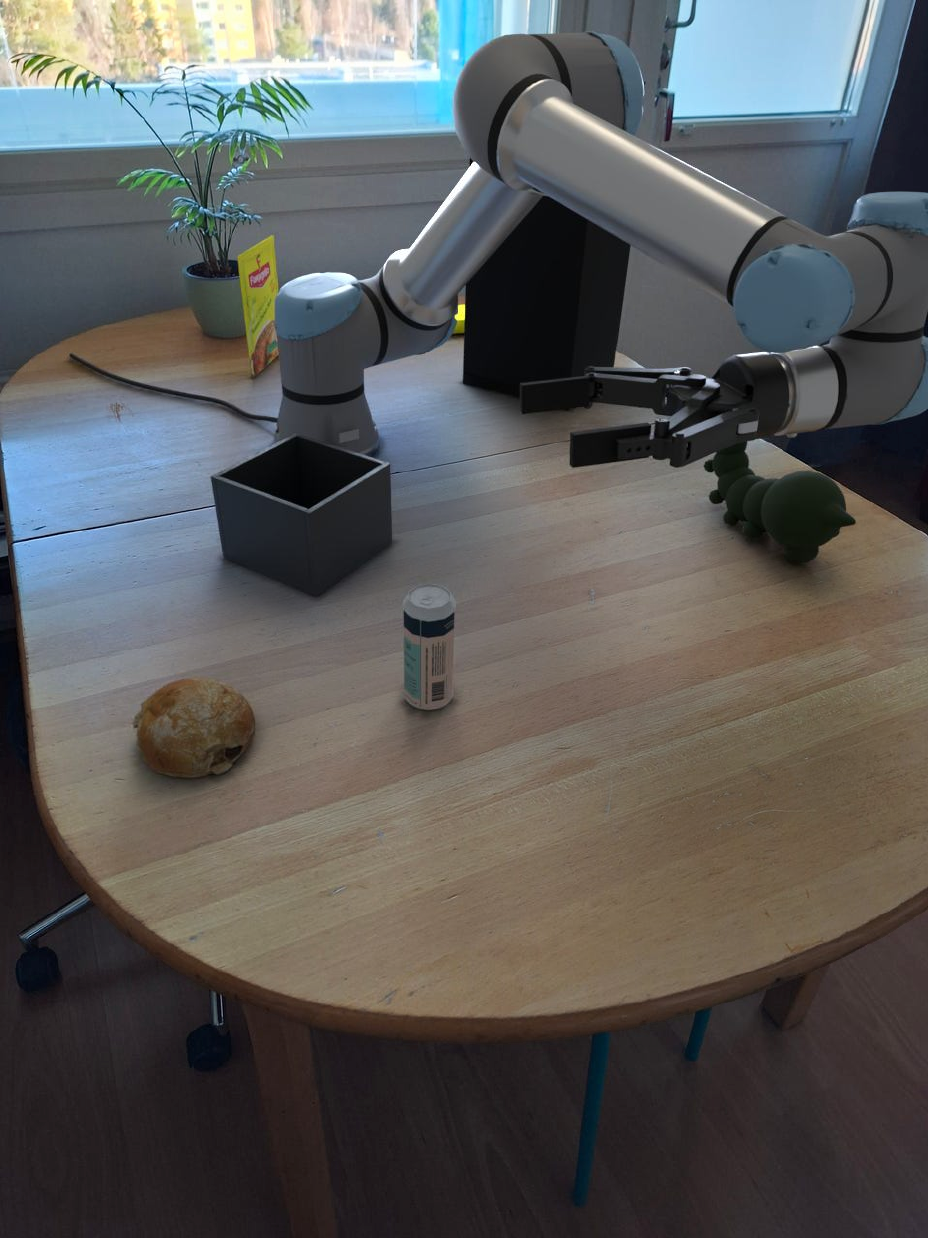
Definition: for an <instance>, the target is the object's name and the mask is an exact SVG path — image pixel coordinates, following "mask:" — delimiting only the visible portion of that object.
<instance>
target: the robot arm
mask: <svg viewBox="0 0 928 1238" xmlns="http://www.w3.org/2000/svg"><path fill="white" fill-rule="evenodd" d="M643 82H644V80H643V75H642V71H641V68H640V65H639V62H638V60H637V58H636V57H635V55H634V53H633V51H632V50H631V49H630V48H629V46H628V45H627V44H626V43H625V42H624V41H623V40H621V39H620V38H618V37H616V36H614V35H610V34H604V33H598V32H596V31H594V30H585V31H582V32H559V33H558V32H555V33H529V34H528V33H512V34H511V33H510V34H504V35H501V36H498V37H496V38H493V39H491V40H489V41H488V42H486V43H484V44H482V45H481V46H480V47H479V48H478V49H476V51H474V52H473V53H472V55H470V57H469V58H468V59H467V61H466V62H465V64H464V66H463V67H462V68H461V70H460V72H459V74H458V77H457V80H456V84H455V87H454V91H453V97H452V107H451V108H452V119H453V125H454V129H455V133H456V136H457V139H458V140H459V142H460V145H461V147H462V148H463V150H464V151H465V153H466V154H467V156H468V157H469V159H470V158H471V159H472V160H473V161H474V162H473V164H472V165H471V166H470V168H469V167H468V169H467V170H466V171H465V173H464V174H463V176H462V177H461V178H460V180H459V181H458V183H457V184H456V185H455V187H454V188H453V189H452V191H451V192H450V194H449V195H448V196H447V197H446V198H445V200H444V202H443V203H442V204H441V206H440V207H439V208H438V210H437V211H436V213H435V214H433V217H432V218H431V219H430V220H429V222H428V223H427V225H426V226H425V227H424V229H423V230H422V231H421V233H420V234H419V235H418V237H417V238H416V239H415V241H414V243H412V245H411V246H410V248H405V249H400V250H397V251H395V252H394V253H392V254H391V255H390V256H389V257H388V258H387V260H386V262H384V264H383V265H382V267H381V268H380V269H379V271H378V272H377V274H375V275H374V276H372V277H370V278H364V279H359V280H358V279H357V277H355V276H354V275H352V274H349V273H346V272H339V271H327V272H323V273H320V272H315V273H309V274H306V275H302V276H298V277H296V278H294V279H291V280H290V281H288V282H287V283H285V284H284V285H282V286H281V288H280V289H279V291H278V293H277V296H276V298H275V320H274V327H275V331H276V334H277V344H278V354H279V355H278V362H279V374H280V382H281V393H282V398H281V402H280V407H279V410H278V415H277V417H274V416H268V415H258V414H253V413H249V412H247V411H245V410H243V409H241V408H239V407H238V406H237V405H234V404H233V403H230V402H228V401H226V400H223V399H220V398H216V397H211V396H207V395H201V394H195V393H190V392H185V391H181V390H174V389H171V388H165V387H161V386H157V385H151V384H148V383H143V382H139V381H136V380H132V379H129V378H127V377H123V376H121V375H117V374H114V373H112V372H109V371H107V370H105V369H102V368H100V367H98V366H97V365H94V364H92V363H90V362H88V361H87V360H85V359H83V358H82V357H80V356H78V355H76V354H74V353H73V352H70V353H69V357H70V358H71V359H73V360H74V361H76V362H78V363H79V364H81V365H83V366H85V367H86V368H89V369H90V370H92V371H94V372H96V373H99V374H100V375H103V376H105V377H107V378H110V379H112V380H115V381H118V382H121V383H124V384H127V385H130V386H134V387H138V388H142V389H145V390H150V391H153V392H158V393H163V394H167V395H172V396H178V397H182V398H186V399H192V400H197V401H204V402H208V403H213V404H216V405H217V404H218V405H221V406H224V407H226V408H228V409H230V410H232V411H233V412H235V413H237V414H238V415H240V416H242V417H244V418H247V419H250V420H256V421H261V422H270V423H276V425H275V428H274V432H273V442H274V443H273V444H275V443H277V442H279V441H281V440H283V439H285V438H287V437H289V436H291V435H293V434H295V433H298V434H301V435H304V436H307V437H310V438H314V439H317V440H320V441H323V442H326V443H329V444H332V445H335V446H338V447H341V448H344V449H347V450H350V451H353V452H356V453H360V454H363V455H366V456H369V457H371V456H372V455H373V454H375V453H376V452H377V450H378V448H379V444H380V443H379V441H380V440H379V439H380V438H379V437H380V436H379V431H378V427H377V425H376V422H375V420H374V419H373V415H372V412H371V409H370V405H369V403H368V400H367V397H366V394H365V370H366V369H368V368H373V367H375V366H379V365H382V364H387V363H389V362H390V363H391V362H393V361H397V360H400V359H404V358H408V357H411V356H418V355H419V356H420V355H424V354H426V353H430V352H432V351H433V350H435V349H437V348H440V347H441V346H443V345H444V344H446V342H447V341H448V340H449V339H450V338H451V337H452V335H454V334H453V332H454V329H455V327H456V324H457V320H456V318H455V315H457V314H458V305H459V293H460V292H461V291H462V290H463V289H464V287H466V284H467V283H468V282H469V280H470V279H471V278H472V277H473V276H474V275H475V274H476V272H477V271H478V270H479V269H480V268H481V267H482V265H483V264H484V263H485V262H486V261H487V260H488V259H489V257H490V256H491V255H492V254H493V253H494V252H495V251H496V249H497V248H498V247H499V246H500V245H501V244H502V243H503V241H504V240H505V239H506V238H507V237H508V236H509V234H510V233H511V232H512V231H513V230H514V229H515V228H516V226H517V225H518V224H519V223H520V222H521V221H522V220H523V218H524V217H525V216H526V215H527V214H528V213H529V212H530V210H531V209H532V208H533V207H534V206H535V205H536V203H537V202H538V201H539V200H540V199H541V198H542V197H543V195H544V196H549V197H551V198H553V199H554V200H556V201H558V202H559V203H561V204H563V205H564V206H566V207H568V208H569V209H571V210H573V211H574V212H576V213H578V214H579V215H581V216H583V217H584V218H586V219H588V220H589V221H591V222H593V223H594V224H596V225H598V226H599V227H601V228H603V229H604V230H606V231H608V232H609V233H611V234H613V235H614V236H616V237H618V238H619V239H621V240H623V241H624V242H626V243H628V244H629V245H631V247H633V248H634V249H636V250H638V251H639V252H641V253H643V254H645V255H646V256H648V257H649V258H651V259H652V260H654V261H656V262H657V263H659V264H661V265H663V266H665V267H666V268H668V269H669V270H671V271H673V272H674V273H676V274H678V275H680V276H681V277H682V278H684V279H686V280H688V281H689V282H691V283H693V284H695V285H696V286H698V287H699V288H701V289H702V290H705V291H706V292H708V293H709V294H711V295H713V296H715V297H716V298H718V299H719V300H721V301H722V302H724V303H726V304H728V305H729V306H730V307H733V314H734V315H733V316H734V319H735V322H736V325H738V326H739V328H740V330H741V333H742V334H743V336H744V338H745V340H747V341H748V343H750V344H752V345H753V346H754V347H756V348H757V349H759V350H761V351H762V352H752V353H743V354H734V355H730V356H729V357H727V358H726V359H724V360H723V362H721V364H720V365H719V366H718V368H717V370H716V372H715V373H714V374H713V375H712V377H710V378H708V377H707V376H706V375H703V374H695V373H694V374H691V373H692V368H690V367H687V366H680V367H667V368H660V367H659V368H657V367H656V368H655V367H654V368H652V367H617V366H616V367H615V366H614V367H593V366H590V367H587V368H585V376H579V377H570V378H562V379H553V380H544V381H535V382H527V383H520V398H519V413H520V414H521V415H530V414H531V415H532V414H538V413H539V414H540V413H547V412H555V411H563V410H564V409H569V410H571V409H579V408H583V409H585V410H589V409H591V408H592V407H593V403H594V404H602V405H603V404H604V405H613V406H620V407H621V406H622V407H629V408H630V407H632V408H640V409H648V410H651V411H653V413H654V414H655V415H657V416H663V417H667V419H664V418H657V417H655V418H654V428H653V429H654V430H653V432H652V424H651V423H649V422H648V421H647V422H639V423H631V424H623V425H617V426H610V427H609V426H608V427H599V428H593V429H584V430H575V431H569V460H568V461H569V463H568V464H569V466H570V467H571V469H574V468H575V469H576V468H583V467H591V466H597V465H598V466H599V465H606V464H613V463H618V462H619V463H621V462H628V461H634V460H641V459H642V460H643V459H649V458H650V457H652V459H653V460H656V461H665V460H669V466H670V467H672V468H674V469H675V468H677V469H679V468H684V467H686V466H688V465H691V464H693V463H695V462H698V461H700V460H702V459H704V458H707V457H709V456H711V455H713V454H716V452H718V451H720V450H723V449H725V448H727V447H729V446H732V445H734V444H737V443H742V442H747V443H748V442H753V441H756V440H761V439H768V438H771V437H773V436H775V437H777V436H779V437H780V436H786V437H787V438H789V439H794V438H796V437H797V436H798V434H802V433H808V432H809V433H811V432H818V431H825V430H831V429H839V428H850V427H858V426H859V427H860V426H866V425H867V426H868V425H872V426H876V425H883V424H887V423H891V422H896V421H901V420H904V419H907V418H912V417H916V416H918V415H920V414H922V413H924V412H925V411H927V410H928V337H926V336H925V335H924V328H925V324H926V320H927V315H928V192H921V191H883V192H873V193H866V194H864V195H862V196H860V197H859V198H858V199H857V200H856V202H855V203H854V205H853V208H852V211H851V215H850V219H849V222H847V227H846V231H843V232H839V233H836V234H832V235H828V236H827V235H823V234H820V233H819V232H818V231H815V230H813V229H811V228H809V227H807V226H805V225H803V224H801V223H800V222H798V221H795V220H793V219H791V218H789V217H787V216H786V215H785V214H783V213H781V212H779V211H777V210H776V209H774V208H771V207H770V206H768V205H766V204H764V203H762V202H760V201H758V200H756V199H754V198H753V197H751V196H749V195H747V194H745V193H743V192H741V191H739V190H738V189H736V188H735V187H732V186H730V185H728V184H726V183H724V182H722V181H720V180H719V179H717V178H714V177H713V176H711V175H709V174H707V173H705V172H703V171H701V170H700V169H698V168H696V167H694V166H693V165H690V164H688V163H686V162H684V161H683V160H680V159H679V158H677V157H675V156H673V155H672V154H669V153H667V152H665V151H664V150H662V149H660V148H658V147H656V146H654V145H653V144H650V143H648V142H647V141H644V140H643V139H641V138H639V137H637V133H638V131H639V129H640V126H641V124H642V120H643V115H644V106H643V102H644V97H645V85H643ZM827 342H829V343H827ZM824 343H827V344H824ZM822 344H823V345H822ZM598 382H599V386H598ZM564 411H565V410H564Z"/></svg>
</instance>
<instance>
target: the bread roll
mask: <svg viewBox="0 0 928 1238" xmlns="http://www.w3.org/2000/svg"><path fill="white" fill-rule="evenodd" d="M140 706H141V707H140V711H138V712H137V713H136V714H135V715H134V719H133V721H132V726H133V729H134V730H135V729H137V730H136V734H135V735H136V738H137V739H136V746H137V747H138V749H139V751H140V754H141V756H142V757H143V762H145V763H146V764H147V765H148V766H149V767H150V768H151V769H152V770H153V771H155V772H157V773H158V774H164V775H166V776H169V777H172V778H173V777H174V778H175V777H178V778H179V777H180V778H191V779H192V778H193V779H194V778H201V777H206V776H209V775H211V774H214V775H217V776H219V775H221V774H223V773H226V772H228V770H229V769H230V768H231V767H233V766H234V765H233V763H234V762H236V760H238V758H240V756H241V755H242V754H243V753H244V752H245V750H246V748H248V747H249V746H250V744H251V742H252V741H253V739H254V737H255V735H256V734H255V733H256V718H255V714H254V711H253V709H252V706H251V705H250V703H249V701H248V700H247V698H246V697H245V696H244V695H243V694H242V693H241V692H240V691H239V690H237V689H236V688H235V687H233V686H231V685H229V684H228V683H226V682H222V681H220V680H216V679H212V678H204V677H190V678H182V679H179V680H174V681H172V682H169V683H167V684H165V685H163V686H162V687H160V688H158V689H157V690H155V692H153V693H152V694H151V695H150V696H149V697H148V698H146V699H145V700H143V701H142V702H141V703H140Z"/></svg>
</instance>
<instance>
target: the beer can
mask: <svg viewBox="0 0 928 1238" xmlns="http://www.w3.org/2000/svg"><path fill="white" fill-rule="evenodd" d="M451 593H452V592H451V591H449V589H448V588H446V587H444V586H443V585H439V584H434V583H426V584H425V583H424V584H419V585H418V584H417V585H415V586H414V587H413V588H412V589H409V591H408V593H407V595H406V596H405V597H404V600H403V602H402V611H403V614H402V615H403V682H404V683H403V685H404V686H403V687H404V688H403V689H404V690H403V696H404V699H405V700H406V702H407V703H408V704H409V705H411V706H412V707H414V708H416V709H420V710H425V711H430V710H438V709H441V708H444V707H445V706H447V705H448V704H449V703H450V702H451V701H452V699H453V696H454V691H453V680H454V679H453V677H454V674H453V672H454V645H455V644H454V643H455V642H454V641H455V614H456V613H455V612H456V611H455V610H456V608H457V602H456V601H455V599H454V597H453V596H452V594H451Z"/></svg>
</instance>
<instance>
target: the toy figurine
mask: <svg viewBox="0 0 928 1238" xmlns="http://www.w3.org/2000/svg"><path fill="white" fill-rule="evenodd" d="M747 446H748V442H742V443H737V444H734V445H732V446H729V447H727V448H725V449H723V450H720V451H718V452H716V453H714V455H713V458H712V459H711V458H710V459H707V460H706V461H704V463H703V469H704V471H705V472H708V473H711V474H712V473H714V475H715V476H716V477H717V478H718V479H717V489H713V490H711V491H710V492H709V494H708V500H709V502H710V503H711V504H713V505H722V504H723V503H724V502H725V507H726V509H727V510H726V511H725V513H724V514H723V516H722V518H723V522H724V524H725V525H727V526H728V527H729V526H730V527H734V526H736V525H738V523H739V522H742V523H744V524H743V526H742V533H743V535H744V537H745V538H747V539H748V540H750V541H751V540H756V539H760V538H762V537H763V536H764V533H765V534H768V535H769V536H770V537H771V538H772V540H774V541H775V542H777V543H778V544H779V545H780V546H782V547H785V548H784V550H783V553H784V557H785V560H786V561H787V562H788V563H790V564H793V565H804V564H807V563H810V562H812V561H814V560H815V559H816V558H817V557H818V555H819V553H820V550H819V549H820V547H822V546H824V545H826V544H827V543H830V541H832V540H833V539H834V538H836V537H838V536H839V535H840V532H841V529H842V528H845V527H846V528H847V527H850V526H854V525H856V524H857V520H856V518H854V517H853V516H852V515H851V514H850V513H848V512H847V503H846V498H845V495H844V493H843V490H842V489H841V488H840V486H839V485H838V484H837V482H836V481H835V480H833V479H832V478H831V477H829V476H828V475H826V474H824V473H821V472H818V471H813V470H796V471H793V472H790V473H787V474H785V475H783V476H781V477H780V478H774V477H772V478H771V477H770V478H765V477H763V476H760V475H758V474H756V472H754V470H752V469H751V468H750V458H749V455H748V454H747V452H746V449H747Z"/></svg>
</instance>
